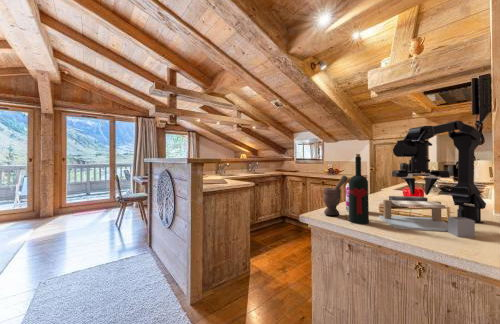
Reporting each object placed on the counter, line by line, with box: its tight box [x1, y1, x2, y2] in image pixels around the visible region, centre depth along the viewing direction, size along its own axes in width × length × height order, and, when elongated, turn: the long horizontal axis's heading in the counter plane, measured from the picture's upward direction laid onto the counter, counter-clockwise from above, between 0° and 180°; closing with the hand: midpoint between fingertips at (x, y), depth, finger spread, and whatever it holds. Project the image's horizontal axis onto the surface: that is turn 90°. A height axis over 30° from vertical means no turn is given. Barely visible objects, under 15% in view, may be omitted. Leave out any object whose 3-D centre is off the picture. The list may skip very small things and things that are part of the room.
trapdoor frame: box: [378, 199, 448, 232], centre depth 94 cm, size 23×19×9 cm
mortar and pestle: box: [322, 175, 348, 216], centre depth 112 cm, size 12×9×20 cm
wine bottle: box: [348, 153, 370, 225], centre depth 96 cm, size 8×10×30 cm
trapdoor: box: [388, 195, 446, 209], centre depth 96 cm, size 16×14×4 cm
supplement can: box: [345, 182, 349, 213], centre depth 118 cm, size 8×8×15 cm
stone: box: [447, 216, 476, 239], centre depth 79 cm, size 5×5×6 cm
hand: (419, 194), depth 91 cm, fingers open, 4 cm apart
